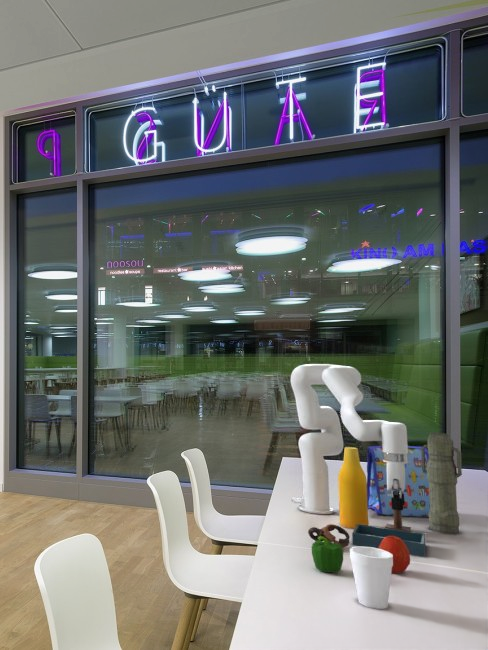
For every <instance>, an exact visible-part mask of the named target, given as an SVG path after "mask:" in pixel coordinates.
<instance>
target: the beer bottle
mask: <svg viewBox="0 0 488 650" xmlns="http://www.w3.org/2000/svg"><path fill="white" fill-rule="evenodd" d="M337 479H338V480H337V481H338V507H339V524H340V526H341V527H342V528H346V529H352V530H354V529H355V527H356V525H357V524H361V525H368V526H370V525H369V524H370V523H369V522H370V521H369V509H368V503H367V475H366V473H365V471H364V469H363V467H362V466H361V461H360V454H359V450H358V447H354V446H353V447H352V446H345V447H344V452H343V462H342V465H341V467H340V469H339V471H338V476H337Z"/></svg>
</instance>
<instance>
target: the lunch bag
mask: <svg viewBox="0 0 488 650" xmlns="http://www.w3.org/2000/svg"><path fill="white" fill-rule="evenodd" d="M422 447H423V446H415V445H414V446H410V445H408V460H409V463H406V464H405V489H404V491H403V493H402V494H404V502H405V504H404V505H403V510H402V517H418V518H419V517H420V518H421V517H422V518H424V517H425V518H429V510H430V494H429V482H428V480H427V474H426V473H423V470H422V453H421V448H422ZM366 452H367V453H366V454H367V457H366V459H367V461H366V474H367V475H366V479H367V503H368V510H369V509H373V510H374V511H375V513H376V514H378V516H380V515H383V516H394V515H393V509H392V501H391V497H392V489H391V490H390V491H388V490H387V471H386V465H387V462H384V461H383V451H382V445H373V446H372V445H371V446H368V447H367V451H366ZM428 458H429V454H428V448H426V447H425V471H426V470H427V464H428Z"/></svg>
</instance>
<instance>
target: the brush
mask: <svg viewBox="0 0 488 650" xmlns="http://www.w3.org/2000/svg"><path fill="white" fill-rule="evenodd" d="M392 516H393V524H391V523H386V524H385V527H384V528H388V529H395V530H402V531H409V532H412V527H411V526H405V525H403V516H402V511H401V510H393V515H392Z"/></svg>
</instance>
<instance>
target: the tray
mask: <svg viewBox="0 0 488 650" xmlns="http://www.w3.org/2000/svg"><path fill="white" fill-rule="evenodd" d="M393 535H394V536H396V537H398V538H400V539H401V540H403V542H404V543H405V544H406V546H407V548H408V550H409V553H410V556H416V557H421V558H425V556H426V547H427V546H426V545H427V544H426V533H421V532H414V531H411V532H409V531H402V530H395V529H388V528H385V527H380V526H374V525H361V524H357V525H356V527H355V529H353V531H352V546H355V547H358V546H364V547H373V548H377V549H378V548H379V546H380V544H381V542H382V540H383V539H384V538H385V537H387V536H393Z"/></svg>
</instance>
